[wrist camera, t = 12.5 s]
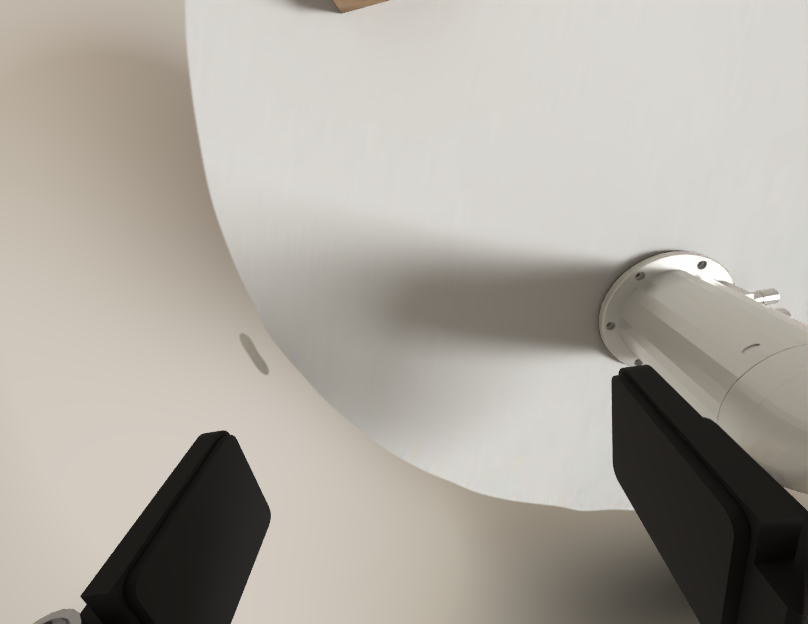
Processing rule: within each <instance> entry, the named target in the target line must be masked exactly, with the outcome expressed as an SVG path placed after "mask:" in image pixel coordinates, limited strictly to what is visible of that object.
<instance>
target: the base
mask: <svg viewBox="0 0 808 624" xmlns="http://www.w3.org/2000/svg"><path fill="white" fill-rule="evenodd" d="M333 1H334V3H335V4H336V6H337V7H338V9H339V10H340V12H341V13H345V12H348V11H352V10H356V9H359V8H363V7H366V6H370V5H374V4H377V3H381V2H384V1H388V0H333Z"/></svg>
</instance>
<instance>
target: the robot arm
mask: <svg viewBox="0 0 808 624" xmlns="http://www.w3.org/2000/svg"><path fill="white" fill-rule="evenodd" d="M637 273H638V274H637ZM636 274H637V275H636ZM779 299H780V298H779V293H778V291H777V290H775V289H772V288H771V289H765V290H759V291H756V292H752V293H750V292H748V291H746V290H744V289H742V288H740V287H737V286H735V284H734V281H733V279H732V277H731V276H730V274H729V272H728V271H727V270H726V269H725V268H724V267H723V266H722V265H721V264H720V263H718V262H716V261H714V260H712V259H711V258H708V257H706V256H703V255H701V254H698V253H692V252H687V251H673V252H667V253H662V254H658V255H655V256H652V257H650V258H647V259H645V260H643V261H641V262H639V263H637V264H636V265H634V266H633V267H631V268H630V269H629V270H627V271H626V272H625V273H623V274H622V275H621V276H620V277H619V278H618V280H617V281H616V282H615V283H614V284H613V285H612V287H611V288H610V290H609V291H608V293H607V294H606V296H605V299H604V301H603V303H602V306H601V310H600V314H599V330H600V335H601V338H602V340H603V342H604V344H605V346H606V347H607V348H608V349H609V351H610V352H611V353H612V354H613V355H614V356H615V357H616V358H617V359H618V360H620V361H621V362H623V363H624V364H626V365H628V366H631V367H626V368H621V369H620V371H619V375H616V376H613V377H612V442H613V468H614V472H615V475H616V477H617V480H618V482H619V483H620V485H621V487H622V489H623V490H624V492H625V494H626V495H627V497H628V499H629V501H630V502H631V504H632V506H633V508H634V509H635V511H636V513H637V514H638V516H639V518H640V520H641V521H642V523H643V525H644V527H645V528H646V530H647V532H648V533H649V535H650V537H651V539H652V540H653V542H654V544H655V546H656V547H657V549H658V551H659V553H660V554H661V556H662V558H663V560H664V561H665V563H666V565H667V566H668V568H669V570H670V572H671V573H672V575H673V577H674V579H675V580H676V582H677V584H678V585H679V587H680V589H681V591H682V592H683V594H684V596H685V598H686V599H687V601H688V603H689V605H690V606H691V608H692V609H693V612H694V613H695V615H696V617H697V618H698V620H699V622H700V624H808V511H807V510H806V509H805V508H804V507H803V506H802V505H801V504H800V503H799V502H798V501H796V499H794V497H793V496H791V495H790V494H789V493H788V492H787V491H786V490H785V489H784V488H783V487H785V488H788V489H791V490H794V491H797V492H800V493H805V494H808V325H806V324H803V323H801V322H799V321H797V320H795V319H793V318H792V316H791V314H790V313H789V311H787V310H786V309H783V308H778V309H773V308H770V307H768V306H766V305H767V304H773V303H777V302H778V301H779ZM270 519H271V513H270V509H269V506H268V504H267V502H266V500H265V498H264V496H263V494H262V492H261V489H260V487H259V485H258V483H257V481H256V479H255V477H254V475H253V473H252V470H251V468H250V466H249V464H248V462H247V460H246V458H245V456H244V454H243V452H242V450H241V448H240V445H239V443H238V441H237V439H236V437H235V436H233V435H230V434H229V433H228V432H227V431H217V432H210V433H204V434H201V435H200V436H199V437H198V438H197V440H196V441H195V442H194V444H193V445H192V446H191V448H190V449H189V450H188V452H187V453H186V454H185V456H184V457H183V458H182V460H181V462H180V463H179V464H178V465H177V467H176V468H175V469H174V471H173V472H172V473H171V475H170V476H169V477H168V479H167V480H166V481H165V483H164V484H163V486H162V487H161V488H160V489H159V491H158V492H157V494H156V495H155V496H154V498H153V499H152V500H151V502H150V503H149V504H148V506H147V507H146V508H145V510H144V511H143V513H142V514H141V515H140V516H139V518H138V519H137V520H136V522H135V523H134V525H133V526H132V527H131V529H130V530H129V532H128V533H127V534H126V535H125V537H124V538H123V540H122V541H121V542H120V544H119V545H118V546H117V547H116V549H115V550H114V552H113V553H112V554H111V556H110V557H109V558H108V560H107V561H106V563H105V564H104V565H103V566H102V568H101V569H100V571H99V572H98V573H97V575H96V576H95V577H94V579H93V580H92V581H91V583H90V584H89V585H88V587H87V588H86V589H85V591H84V592H83V593H82V595H81V598H82V599H83V600H84V601H85V602H86V604H87V605H86V606H85V608H84V609H83V611H82V612H81V613H79V612H77V611H75V610H74V609H62V610H59V611H56V612H53V613H51V614H49V615H47V616H45V617H43V618H41V619H39V620H38V621H36V622H35V623H34V624H231V621H232V619H233V616H234V614H235V611H236V609H237V606H238V603H239V601H240V598H241V596H242V593H243V591H244V588H245V585H246V583H247V580H248V578H249V575H250V573H251V570H252V568H253V565H254V562H255V560H256V557H257V555H258V552H259V550H260V547H261V545H262V542H263V539H264V537H265V534H266V532H267V529H268V527H269V523H270Z"/></svg>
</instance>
